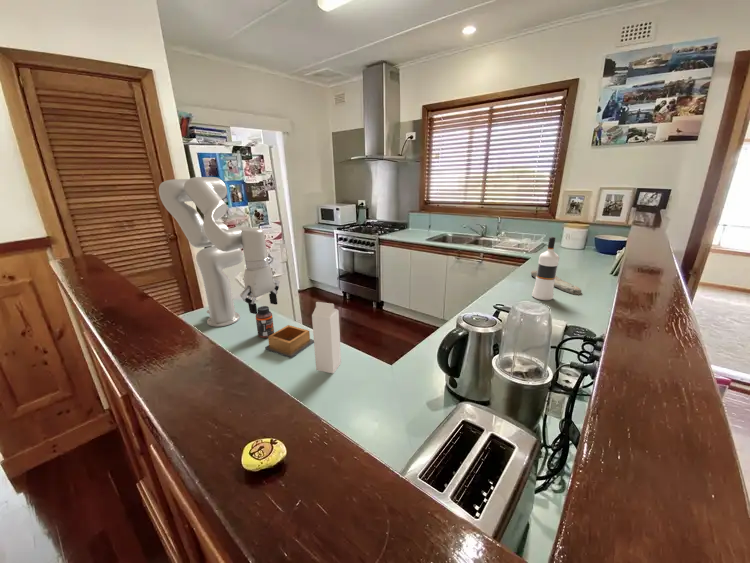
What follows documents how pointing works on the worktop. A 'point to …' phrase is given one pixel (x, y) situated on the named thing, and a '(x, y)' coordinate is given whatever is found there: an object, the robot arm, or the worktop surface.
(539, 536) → the worktop surface
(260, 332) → the supplement bottle
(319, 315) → the milk
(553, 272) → the vodka
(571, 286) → the elongated rock
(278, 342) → the square wooden tray
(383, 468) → the worktop surface
